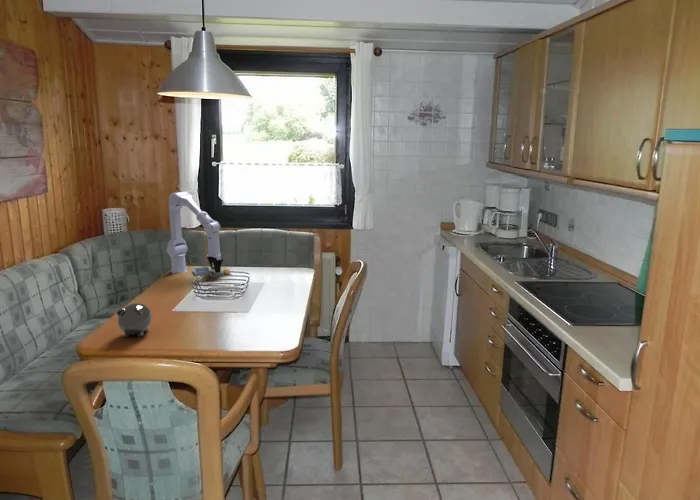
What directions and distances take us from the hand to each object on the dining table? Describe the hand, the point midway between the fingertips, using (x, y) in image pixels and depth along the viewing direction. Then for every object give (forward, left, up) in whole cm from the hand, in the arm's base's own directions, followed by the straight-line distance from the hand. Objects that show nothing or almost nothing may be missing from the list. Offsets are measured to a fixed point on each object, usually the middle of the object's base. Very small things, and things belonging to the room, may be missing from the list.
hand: (215, 271), depth 276 cm
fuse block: (0, +2, -3) cm, 4 cm away
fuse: (0, 0, -2) cm, 2 cm away
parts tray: (-10, -6, -3) cm, 12 cm away
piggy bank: (+72, -42, -3) cm, 83 cm away
